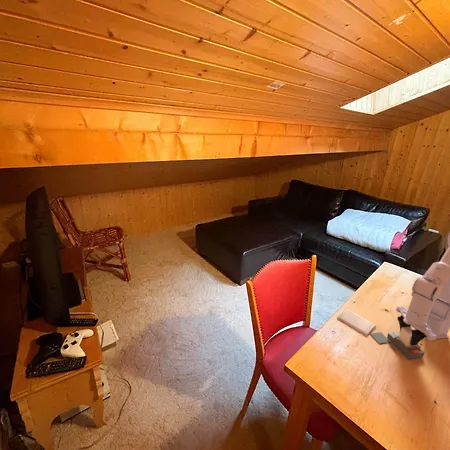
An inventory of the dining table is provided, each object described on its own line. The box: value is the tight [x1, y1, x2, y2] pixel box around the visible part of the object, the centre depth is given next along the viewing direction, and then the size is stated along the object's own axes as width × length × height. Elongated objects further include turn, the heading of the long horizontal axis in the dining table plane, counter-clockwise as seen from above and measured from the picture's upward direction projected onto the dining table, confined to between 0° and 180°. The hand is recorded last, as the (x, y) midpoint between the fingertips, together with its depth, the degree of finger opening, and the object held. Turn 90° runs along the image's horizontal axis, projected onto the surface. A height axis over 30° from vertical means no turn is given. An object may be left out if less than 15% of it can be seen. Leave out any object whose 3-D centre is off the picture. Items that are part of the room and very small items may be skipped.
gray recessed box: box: [386, 331, 425, 361], centre depth 90 cm, size 6×10×4 cm, turn 7°
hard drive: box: [336, 308, 377, 337], centre depth 103 cm, size 2×8×12 cm
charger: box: [398, 325, 417, 348], centre depth 88 cm, size 4×4×6 cm
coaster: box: [369, 331, 391, 345], centre depth 95 cm, size 5×5×1 cm
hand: (408, 339), depth 89 cm, fingers closed on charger, 4 cm apart
